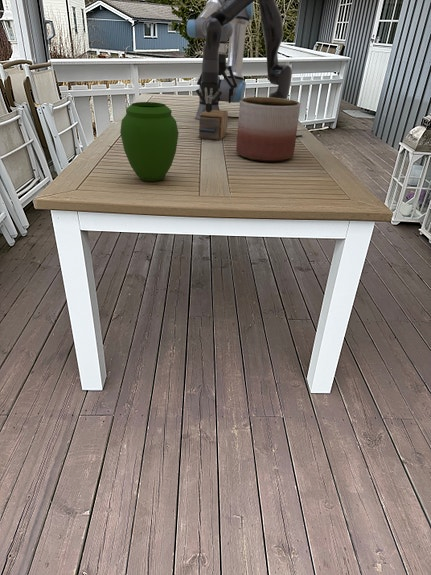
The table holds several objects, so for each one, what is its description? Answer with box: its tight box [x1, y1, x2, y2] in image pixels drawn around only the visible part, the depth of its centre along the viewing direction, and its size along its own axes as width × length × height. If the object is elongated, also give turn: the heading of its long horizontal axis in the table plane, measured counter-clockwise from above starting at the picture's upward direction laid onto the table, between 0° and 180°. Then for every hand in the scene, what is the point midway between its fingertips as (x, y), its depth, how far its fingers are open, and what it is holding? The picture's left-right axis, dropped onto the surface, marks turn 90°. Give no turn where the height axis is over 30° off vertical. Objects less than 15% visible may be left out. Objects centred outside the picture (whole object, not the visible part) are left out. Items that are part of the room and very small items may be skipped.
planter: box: [235, 96, 301, 163], centre depth 175 cm, size 25×25×22 cm
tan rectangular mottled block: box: [198, 109, 229, 141], centre depth 208 cm, size 17×11×11 cm, turn 168°
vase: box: [119, 101, 179, 182], centre depth 140 cm, size 20×20×24 cm
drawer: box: [198, 117, 220, 140], centre depth 204 cm, size 21×10×9 cm, turn 168°
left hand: (216, 101), depth 207 cm, fingers open, 13 cm apart
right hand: (208, 112), depth 193 cm, fingers closed
